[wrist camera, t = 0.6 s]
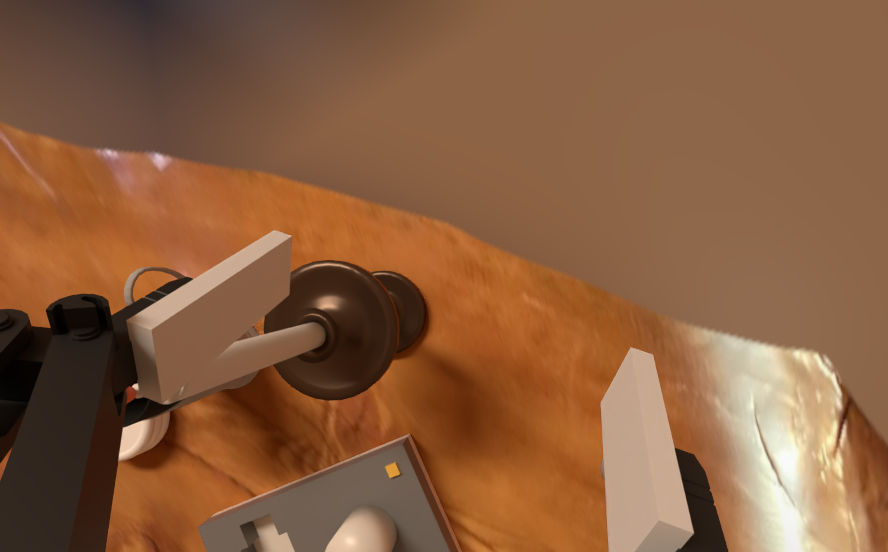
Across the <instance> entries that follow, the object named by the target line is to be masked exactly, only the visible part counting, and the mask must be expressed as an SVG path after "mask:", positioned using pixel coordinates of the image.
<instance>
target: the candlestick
mask: <svg viewBox="0 0 888 552" xmlns="http://www.w3.org/2000/svg"><path fill="white" fill-rule="evenodd" d="M425 316H426V310H425V303H424V300H423V297H422V295H421V293H420V291H419V289H418V288H417V287H416V285H415V284H414V283H413V282H412V281H411V280H409V279H408V278H407V277H405V276H403V275H401V274H399V273H396V272H392V271H376V272H372V273H370V272H369V271H367V270H365V269H363V268H362V267H360V266H358V265H355V264H352V263H348V262H344V261H334V260H325V261H316V262H312V263H309V264H306V265H303V266H301V267H299V268H298V269H296V270H294V271H292V272H291V273H290V292H289V295H288V296H287V297H286V298H285V299H284V300H283V301H281V302H280V303H279V304H278V305H277V306H276V307H275V308H273V309H272V310H271V311H270V312H269V313H268V314H266V315H265V320H264V335H260V336H256V337H252V338H248V339H244V340H240V341H236V342H234V343H233V344H232V345H230V346H229V347H228V348H227V349H226V350H225V351H224V352H222V353H221V354H220V355H219V356H218V357H217V358H215V359H214V360H213V361H212V362H211V363H210V364H208V365H207V366H206V367H205V368H204V369H203V370H202V371H200V372H199V373H198V374H197V375H196V376H195V377H193V378H192V379H191V380H190V381H189V382H188V383H186V384H185V385H184V386H183V387H182V388H181V389H179V390H178V391H177V392H176V393H175V394H174V395H173V396H171V397H170V398H169V399H168V400H167V401H166V402H164V403H163V404H171V403H174V402H177V401H179V400H182V399H184V398H187V397H190V396H192V395H195V394H198V393H200V392H203V391H205V390H208V389H211V388H213V387H216V386H218V385H221V384H224V383H226V382H229V381H231V380H234V379H237V378H239V377H242V376H245V375H247V374H250V373H252V372H255V371H258V370H260V369H263V368H265V367H268V366H271V365H274V367H275V368H276V370H277V371H278V373H279V374H280V375H281V377H282V378H283V379H284V380H285V381H286V382H287V383H288V384H290V385H291V386H292V387H293V388H295V389H296V390H298V391H299V392H301V393H303V394H305V395H308V396H310V397H313V398H316V399H322V400H328V401H329V400H343V399H347V398H350V397H354V396H356V395H358V394H360V393H362V392H364V391H366V390H367V389H368V388H370V387H371V386H372V385H373V384H375V383H376V382H377V381H378V380H379V379H380V378H381V377H382V376H383V375H384V374H385V372H386V371H387V370H388V369H389V367H390V365H391V363H392V361H393V359H394V357H395V354H396V353H399V352H401V351H403V350H405V349H406V348H408V347H409V346H410V345H411V344H413V343H414V342H415V341H416V339H417V338H418V337H419V335H420V333H421V331H422V330H423V326H424V323H425ZM126 392H127V403H129V402H130V401H132V400H133V399H135V398H142V397H143V396H141V395H140V393H139V388H138V383H137V384H134V385H133V386H132V387H131V386H129V387H128V388H127V389H126ZM160 404H161V403H160Z"/></svg>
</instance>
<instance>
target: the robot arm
mask: <svg viewBox="0 0 888 552" xmlns="http://www.w3.org/2000/svg"><path fill="white" fill-rule="evenodd" d="M291 247H292V236H291V235H288V234H285V233H281V232H278V231H275V230H274V231H272V232H270V233H269V234H267V235H265V236H264V237H262V238H260V239H259V240H257V241H256V242H254V243H252V244H251V245H249V246H247V247H246V248H244V249H242V250H241V251H239V252H237V253H236V254H234V255H233V256H231V257H229V258H228V259H226V260H224V261H223V262H221V263H219V264H218V265H216V266H215V267H213V268H211V269H210V270H208V271H206V272H205V273H203V274H201V275H200V276H198V277H197V278H195V279H192V278H189V277H184V278H181V279H177V280H174V281H171V282H169V283H167V284H165V285H163V286H162V287H160V288H158V289H156V291H153V292H151V293H150V294H148V295H146V296H145V298H141V299H139V300H138V301H136V302H134V303H132V304H131V305H129V306H127V307H125V308H124V309H122V310H120V311H119V312H117V313H115V314H113V315H112V316H111V312H110V307H109V302H108V300H107V299H105V298H104V297H103V296H99V295H95V294H78V295H71V296H68V297H65V298H61V299H59V300H57V301H55V302H54V303H52V304H50V306H49V307H48V308H47V309H46V313H47V316H48V320H49V323H50V327H51V328H44V327H34V326H31V323H30V320H29V317H28V314H26V313H24V312H23V311H20V310H14V309H0V463H1V462H2V460H3V459H4V457H5V456H6V455H7V453H8V452H9V450H10V449H11V448H12V446H13V448H12V451H11V453H10V456H9V459H8V462H7V464H6V467H5V470H4V473H3V476H2V478H1V481H0V552H105V549H106V542H107V535H108V528H109V521H110V514H111V508H112V501H113V494H114V487H115V480H116V473H117V466H118V459H119V452H120V445H121V439H122V432H123V425H124V418H125V411H126V404H127V392H126V389H127V388H128V387H129V386H131V385H132V384H133V383H135V382H136V381H137V382H138V388H139V393H140V395H141V396H143V397H146V398H148V399H151V400H153V401H156V402H158V403H161V404H163V403H164V402H166V401H167V400H168V399H169V398H170V397H171V396H173V395H174V394H175V393H176V392H177V391H178V390H179V389H181V388H182V387H183V386H184V385H185V384H186V383H188V382H189V381H190V380H191V379H192V378H193V377H195V376H196V375H197V374H198V373H199V372H200V371H202V370H203V369H204V368H205V367H206V366H207V365H208V364H210V363H211V362H212V361H213V360H214V359H215V358H217V357H218V356H219V355H220V354H221V353H222V352H224V351H225V350H226V349H227V348H228V347H229V346H230V345H232V344H233V343H234V342H235V341H236V340H237V339H239V338H240V337H241V336H242V335H243V334H244V333H246V332H247V331H248V330H249V329H250V328H251V327H252V326H254V325H255V324H256V323H257V322H258V321H259V320H261V319H262V318H263V317H264V316H265V315H266V314H268V313H269V312H270V311H271V310H272V309H273V308H275V307H276V306H277V305H278V304H279V303H280V302H281V301H283V300H284V299H285V298H286V297H287V296H288V295H289V292H290V270H291ZM601 417H602V435H603V453H604V472H605V490H606V508H607V526H608V545H609V552H728V548H727V545H726V542H725V538H724V535H723V531H722V528H721V524H720V521H719V517H718V514H717V510H716V507H715V505H714V500H713V497H712V493H711V492H710V486H709V483H708V479H707V476H706V473H705V471H704V469H703V468H702V466H701V465H700V463H699V462H698V460H697V459H696V457H695V456H694V454H691V453H688V452H685V451H682V450H679V449H677V448H674V444H673V440H672V436H671V431H670V427H669V423H668V418H667V414H666V410H665V405H664V401H663V397H662V392H661V388H660V384H659V379H658V375H657V371H656V366H655V362H654V358H653V355H652V354H649V353H646V352H643V351H640V350H637V349H634V348H630V350H629V352H628V353H627V355H626V357H625V359H624V361H623V363H622V365H621V366H620V368H619V370H618V372H617V374H616V376H615V377H614V379H613V381H612V383H611V385H610V387H609V389H608V390H607V392H606V394H605V396H604V398H603V400H602V401H601Z"/></svg>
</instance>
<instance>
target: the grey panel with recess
mask: <svg viewBox="0 0 888 552" xmlns="http://www.w3.org/2000/svg"><path fill="white" fill-rule="evenodd" d="M198 530H199V533H200V535H201V537H202V540H203V542H204V545H205V547H206V550H207V552H462V550H461V548H460V545H459V543H458V541H457V539H456V536H455V534H454V532H453V530H452V527H451V525H450V523H449V521H448V518H447V516H446V514H445V512H444V509H443V507H442V505H441V502H440V500H439V498H438V496H437V493H436V491H435V489H434V487H433V484H432V482H431V480H430V478H429V475H428V473H427V471H426V469H425V466H424V464H423V462H422V460H421V457H420V455H419V453H418V451H417V448H416V446H415V444H414V441H413V439H412V437H411V435H410V434H408V435H405V436H403V437H400V438H398V439H395V440H393V441H391V442H388V443H386V444H383V445H381V446H378V447H376V448H373V449H371V450H369V451H366V452H364V453H361V454H359V455H356V456H354V457H351V458H349V459H347V460H344V461H342V462H339V463H337V464H334V465H332V466H330V467H327V468H325V469H322V470H320V471H317V472H315V473H312V474H310V475H308V476H305V477H303V478H300V479H298V480H295V481H293V482H290V483H288V484H286V485H283V486H281V487H278V488H276V489H273V490H271V491H269V492H266V493H264V494H261V495H259V496H256V497H254V498H251V499H249V500H247V501H244V502H242V503H239V504H237V505H234V506H232V507H229V508H227V509H225V510H222V511H220V512H217V513H215V514H214V515H213V516H211V517H210V518H209V519H208V520H206V521H205V522H204V523H203V524H201V525H200V526H199V527H198Z"/></svg>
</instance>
